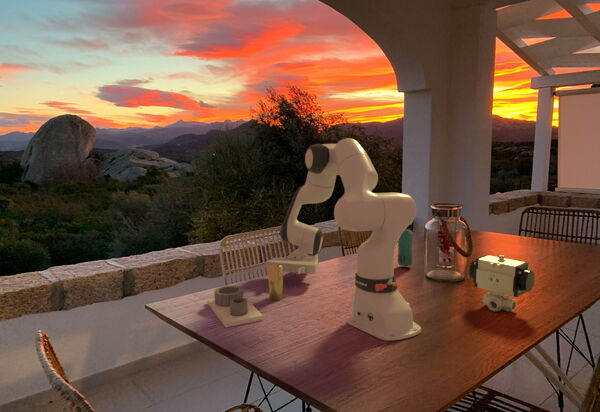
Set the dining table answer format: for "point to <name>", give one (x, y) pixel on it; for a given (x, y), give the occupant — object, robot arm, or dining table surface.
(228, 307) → the fitting plate
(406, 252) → the beverage bottle
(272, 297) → the amber cylinder
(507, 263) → the ball valve
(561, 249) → the dining table surface
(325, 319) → the dining table surface
